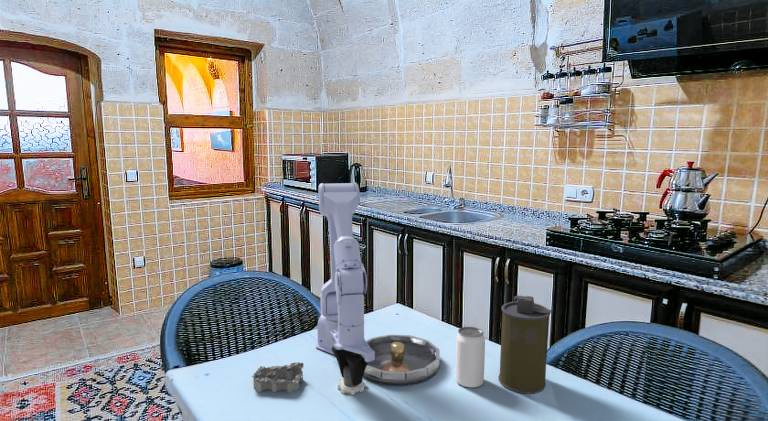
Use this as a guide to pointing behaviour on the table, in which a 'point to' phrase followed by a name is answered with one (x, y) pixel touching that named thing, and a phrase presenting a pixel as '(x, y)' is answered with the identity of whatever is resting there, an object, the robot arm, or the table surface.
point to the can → (470, 357)
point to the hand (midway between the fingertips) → (351, 379)
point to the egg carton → (276, 372)
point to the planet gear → (349, 383)
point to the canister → (524, 345)
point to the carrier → (402, 360)
